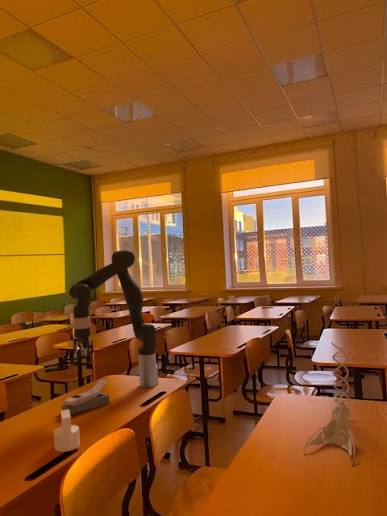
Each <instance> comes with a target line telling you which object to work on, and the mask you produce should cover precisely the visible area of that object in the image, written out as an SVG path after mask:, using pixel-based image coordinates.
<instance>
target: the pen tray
mask: <svg viewBox="0 0 387 516" xmlns="http://www.w3.org/2000/svg"><path fill="white" fill-rule="evenodd" d="M108 403H109V404H110V395H109V394H107V393H104V392H99V393H98V395H97V397H96V398H94V399H91V400H89V401H86V402H84V403H82V404H80V405H76V406H70V405H66V406H63V407H61V411H62V410H68V409H69V412H70V416H71V417H72V416H76V415H80V414H82V413H85V412H89V411H91V410H93V409H97V408H99V406H100V407H103V406H106V405H109V404H108ZM63 404H64V403H62V404H61V405H63ZM105 404H106V405H105ZM102 405H103V406H102ZM96 407H97V408H96Z"/></svg>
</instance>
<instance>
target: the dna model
mask: <svg viewBox="0 0 387 516" xmlns="http://www.w3.org/2000/svg"><path fill="white" fill-rule="evenodd" d="M331 345H332V346H333V347H334V348H336V349H338V350H339V351H337V352H336V353H334V354H333V355H332V360H333V361H335V362H336V363H338V364H340V366H337V367H336V368H334V369H333V370H332V372H333V374H334V375H335V376H337V377H338V378H340V379H341V380H340V381H338V382H336V383H335V384H333V388H334V389H335V390H337V391H339V392H340V393H341V394H342V395H340V396H338V397H337V398H335V399H333V400H334V402H335V404H337V405H339V406H340V401H344V402H348V403H347V405H346V407H347V408H348V409H349V407H350V405H351V399H350V397H349V396H348V395H347V394H348V393H349V392H350V385H349V383H348V381H347V380H346V379H347V378H348V376H349V375H350V374H349V371H350V370H349V369H348V368H347V366H346V365H345V364H346V363H347V362H348V359H349V358H348V356H349V355H347V353H346V352H345V351H344V350H345V349H346V348H347V346H348V342H347V341H345V345H344V347H343V348H342V347H339V346H337V345H336V344H334V342H333V341H331ZM340 353H343V354H344V355H340V356H339V354H340ZM339 357H340V358H343V357H344V358H345V361H344V362H342V361H339V360H338V359H336V358H339ZM342 367H343V368H344V370H345V371H346V375H345V377H343V376H341V375H339V374H338V373H336V372H340V370H339V369H341V368H342ZM343 382H345V384H343V385H341V383H343ZM346 386H347V390H346V392H344V391H343V390H341V389H339V388H337V387H346ZM344 396H345V397H346V398H347V399H342V400H341V398H342V397H344ZM347 412H349V411H347Z"/></svg>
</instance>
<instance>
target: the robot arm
mask: <svg viewBox="0 0 387 516" xmlns="http://www.w3.org/2000/svg"><path fill="white" fill-rule="evenodd" d="M135 262H136V257H135V254H134V252H133V251H131V250H128V249H124V250H123V249H122V250H117V251H114V252H113V253H112V255H111V263H109V264H107V265H105V266H103V267H101V268H99V269H97V270H96V271H93V272H92V273H91V274H90V275H88V276H86V277H85V278H84V279H81V280H79V281H77V282H75V283H74V284H73V285H71V286H70V288H69V290H68V291H69V292H68V294H69V296H70V298H71V299H73V300H77V304H75V305H74V306H73V308H72V311H73V313H72V315H73V321H72V322H73V336H74V337H73V339H72V341H73V343H72V345H73V351H74V352H75V353H76V360H77V362H78V361H82V360H83V357H82V351H83V352H84V353H85V363H86V364H91V362H92V354H94V353H95V352H94V341H93V340H92V339H91V340H89V338H90V337H91V335H92V333H91V332H92V331H91V321H90V320H91V319H90V302H91V297H92V291H94V290H96V289H98V288H99V287H100V286H102V285H103V284H105V283H106V282H107V281H109V280H110V279H111V278H113V277H115V276H117V278H118V280H119V284H120V287H121V290H122V292H123V297H124V300H125V302H126V303H125V304H126V305H127V309H128V312H129V313H128V314H129V316H130V320H131V325H132V330H133V334H134V337H135V338H136V339H137V340H138V341H142V346H141V347H139V348H138V350H137V353H138V355H137V356H138V370H139V371H138V372H139V373H138V375H139V386H140V387H141V388H146V387H147V388H152V387H156V386H157V385H159V370H158V369H159V368H158V365H157V362H156V361H157V359H156V356H157V355H156V349H157V330H156V327H155V325H153V324H150V323H146V322H145V321H144V320H145V319H144V317H143V307H144V298H143V297H144V296H143V293H142V290H141V287H140V286H139V284H137V282H136V281H135V280H134V279H133V277H132V276H131V274H130V272H129V268H131V267H132V266H133V265H134V264H135Z"/></svg>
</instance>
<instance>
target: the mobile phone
mask: <svg viewBox="0 0 387 516" xmlns="http://www.w3.org/2000/svg"><path fill="white" fill-rule="evenodd" d="M108 382H109V380H106V379H99V380H97V382H96V383H95V384H94V386H93V387H92V388H91V389H90V390H88V391H84V392H82V393H79V394H75V395H71V396H70V397H68V398H67V399H64V403H62V404H63V405H62V404H61V405H60V406H61V408H62V407H63V406H66V405H70V406H76V405H80V404H82V403H84V402H86V401H89V400H91V399H94V398H96V397H97V395H98V393H100V392H101V391H102V389H103V388H104V387H105V386H106V384H108Z"/></svg>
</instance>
